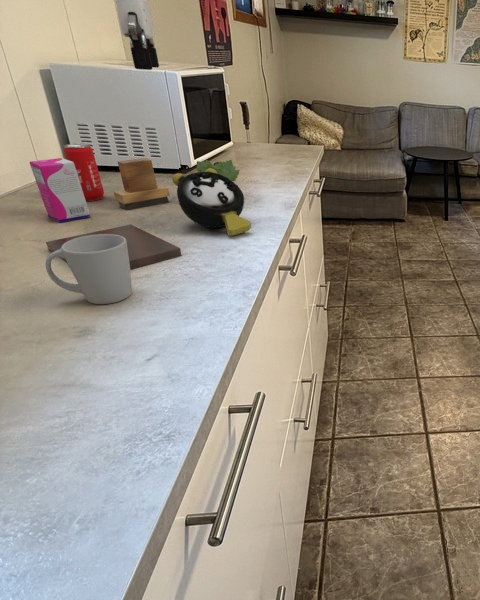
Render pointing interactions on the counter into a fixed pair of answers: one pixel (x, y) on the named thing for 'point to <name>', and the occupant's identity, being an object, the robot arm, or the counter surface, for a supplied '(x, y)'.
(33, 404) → the counter surface
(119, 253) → the cup
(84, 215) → the supplement box
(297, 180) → the counter surface
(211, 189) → the alarm clock
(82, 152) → the beverage can
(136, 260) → the cutting board
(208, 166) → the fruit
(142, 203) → the brush
